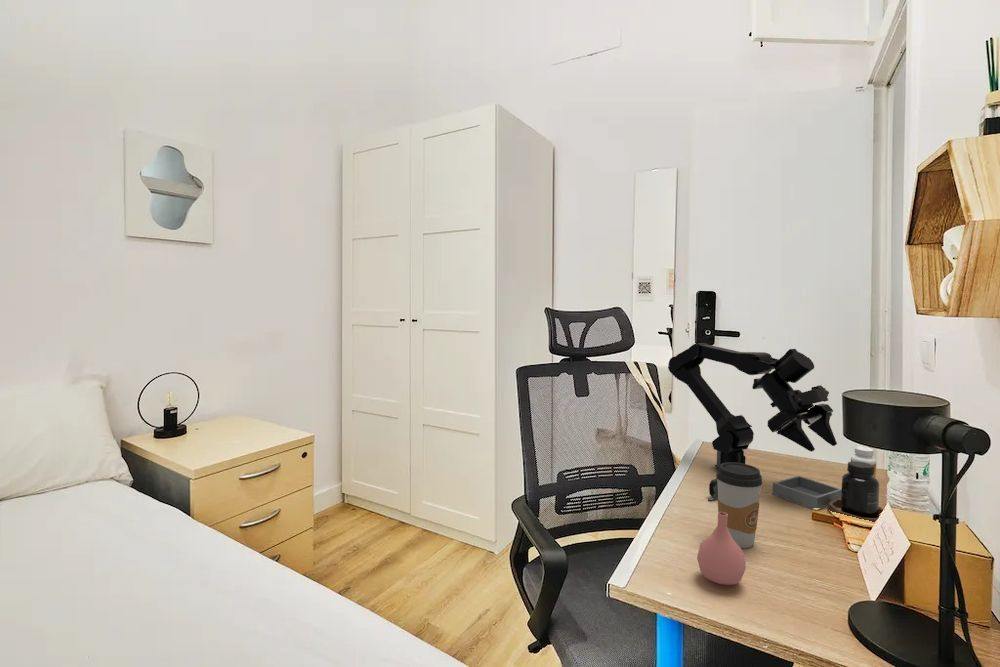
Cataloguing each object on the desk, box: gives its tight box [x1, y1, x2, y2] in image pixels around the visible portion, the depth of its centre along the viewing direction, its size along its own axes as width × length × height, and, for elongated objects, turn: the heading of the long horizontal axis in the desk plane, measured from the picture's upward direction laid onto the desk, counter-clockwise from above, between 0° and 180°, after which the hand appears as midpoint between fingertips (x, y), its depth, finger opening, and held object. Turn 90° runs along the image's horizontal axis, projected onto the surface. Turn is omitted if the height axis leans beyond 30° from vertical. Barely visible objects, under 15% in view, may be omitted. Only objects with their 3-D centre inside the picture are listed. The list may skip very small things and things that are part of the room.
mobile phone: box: [707, 477, 718, 502], centre depth 122 cm, size 5×3×15 cm
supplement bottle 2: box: [840, 460, 880, 518], centre depth 110 cm, size 7×7×12 cm
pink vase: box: [696, 511, 747, 586], centre depth 85 cm, size 8×8×12 cm
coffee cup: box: [715, 462, 763, 549], centre depth 99 cm, size 8×8×15 cm
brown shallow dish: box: [827, 499, 884, 522], centre depth 111 cm, size 11×11×2 cm
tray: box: [771, 475, 842, 510], centre depth 121 cm, size 11×11×3 cm
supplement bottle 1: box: [850, 446, 877, 478], centre depth 129 cm, size 5×5×10 cm
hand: (824, 447), depth 117 cm, fingers open, 9 cm apart
